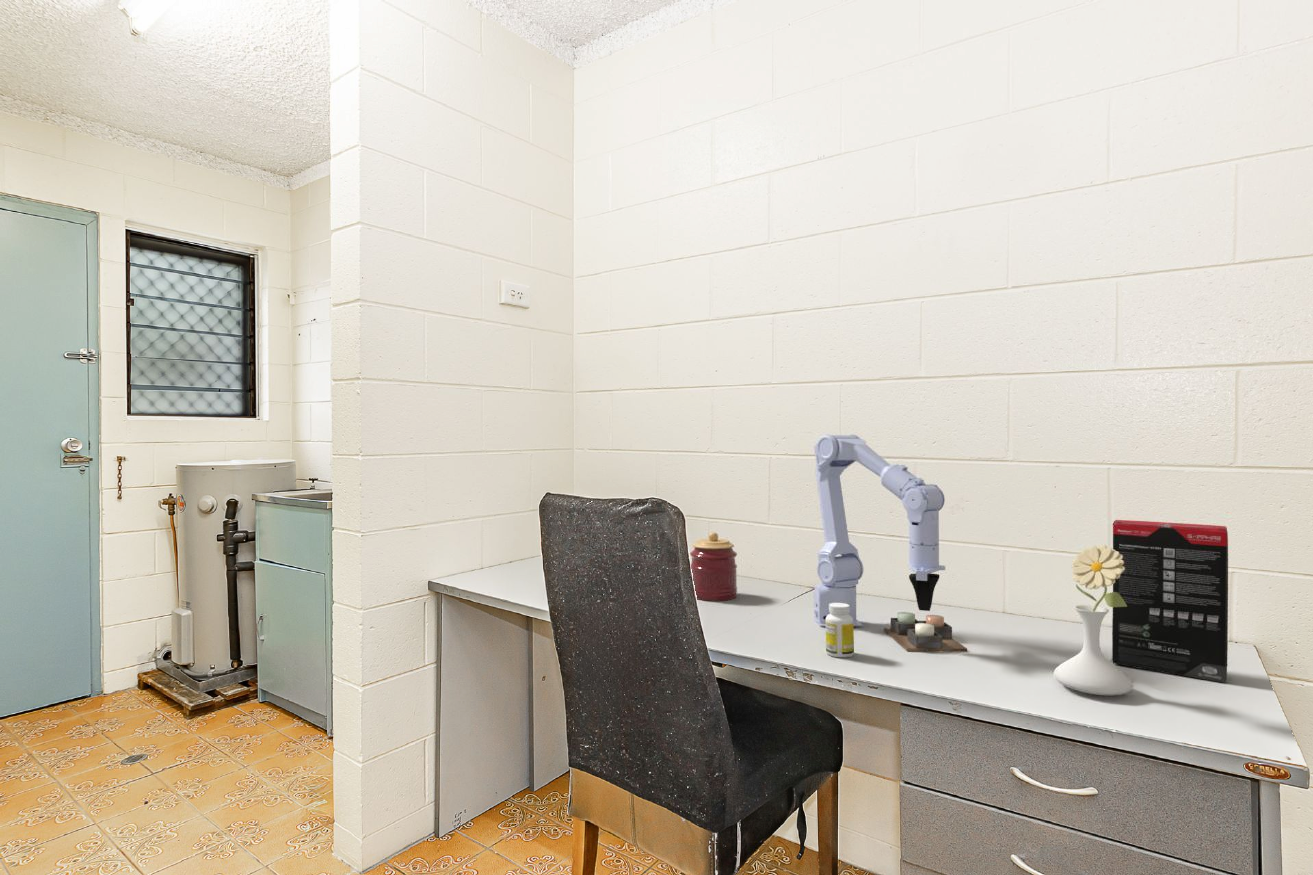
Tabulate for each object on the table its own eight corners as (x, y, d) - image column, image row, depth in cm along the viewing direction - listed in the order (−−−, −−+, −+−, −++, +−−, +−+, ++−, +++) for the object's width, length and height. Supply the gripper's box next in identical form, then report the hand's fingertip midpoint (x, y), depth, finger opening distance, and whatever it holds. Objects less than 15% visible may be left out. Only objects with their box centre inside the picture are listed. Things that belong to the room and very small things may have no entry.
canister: (744, 600, 183) (743, 534, 183) (697, 602, 180) (697, 536, 180) (728, 590, 196) (727, 528, 196) (684, 592, 193) (684, 530, 193)
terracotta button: (929, 631, 145) (929, 619, 145) (923, 626, 149) (923, 614, 149) (946, 631, 145) (946, 619, 145) (940, 626, 149) (940, 614, 149)
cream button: (919, 640, 138) (918, 627, 138) (912, 635, 142) (912, 623, 142) (936, 640, 138) (936, 627, 138) (930, 635, 142) (930, 623, 142)
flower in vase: (1038, 679, 121) (1037, 538, 121) (1099, 677, 122) (1098, 537, 122) (1091, 707, 108) (1089, 549, 108) (1159, 705, 109) (1157, 548, 109)
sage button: (900, 628, 148) (900, 616, 148) (895, 623, 151) (895, 612, 151) (917, 628, 147) (917, 616, 148) (911, 623, 151) (911, 612, 151)
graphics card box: (1228, 675, 123) (1226, 523, 123) (1231, 685, 117) (1228, 527, 118) (1114, 657, 133) (1112, 517, 133) (1111, 666, 128) (1110, 521, 128)
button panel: (907, 651, 137) (907, 636, 137) (884, 631, 152) (884, 617, 152) (967, 651, 137) (967, 636, 137) (938, 631, 152) (938, 617, 152)
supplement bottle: (854, 651, 137) (854, 602, 137) (853, 659, 132) (852, 609, 132) (826, 649, 139) (826, 601, 139) (824, 656, 134) (824, 606, 134)
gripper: (943, 549, 132) (944, 620, 132) (946, 540, 145) (947, 604, 145) (904, 547, 135) (905, 616, 135) (911, 538, 148) (911, 601, 148)
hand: (924, 610), depth 140 cm, fingers closed
